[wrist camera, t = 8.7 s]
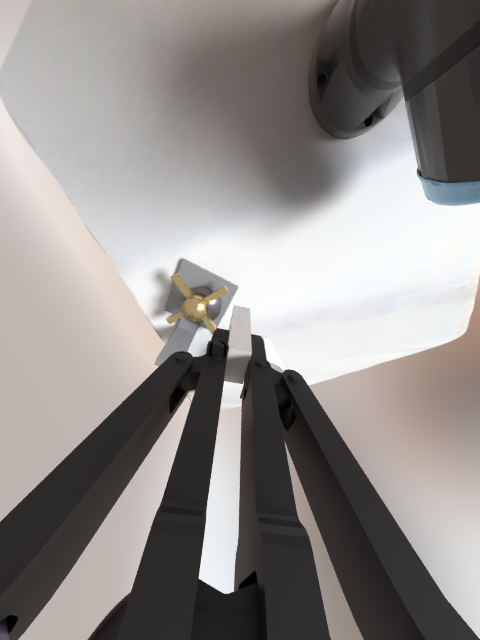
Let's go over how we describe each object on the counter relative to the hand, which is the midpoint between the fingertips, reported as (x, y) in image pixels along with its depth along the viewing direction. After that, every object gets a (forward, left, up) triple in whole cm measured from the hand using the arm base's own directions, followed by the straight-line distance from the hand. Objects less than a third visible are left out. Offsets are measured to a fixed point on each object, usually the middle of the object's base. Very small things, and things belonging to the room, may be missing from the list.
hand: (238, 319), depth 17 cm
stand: (+15, -5, -27) cm, 31 cm away
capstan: (+12, -5, -26) cm, 29 cm away
